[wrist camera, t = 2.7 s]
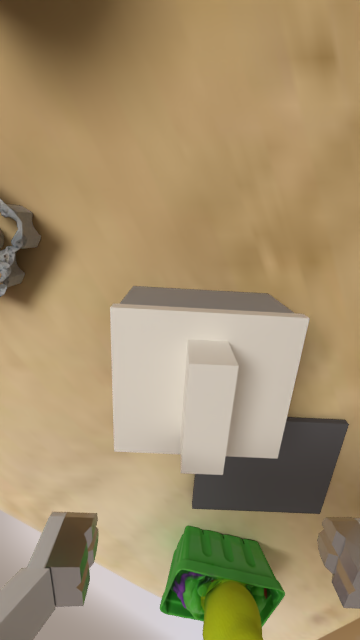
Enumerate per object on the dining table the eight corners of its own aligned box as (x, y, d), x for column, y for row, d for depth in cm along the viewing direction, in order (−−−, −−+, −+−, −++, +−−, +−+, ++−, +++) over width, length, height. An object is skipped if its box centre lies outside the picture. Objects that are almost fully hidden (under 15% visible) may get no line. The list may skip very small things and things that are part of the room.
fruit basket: (160, 557, 33) (151, 717, 22) (182, 507, 30) (184, 662, 19) (247, 575, 34) (278, 735, 23) (276, 528, 31) (326, 686, 20)
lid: (297, 310, 17) (338, 338, 13) (270, 441, 20) (295, 499, 16) (116, 300, 17) (94, 325, 12) (119, 434, 20) (102, 491, 16)
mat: (345, 419, 26) (348, 424, 25) (317, 508, 30) (319, 513, 29) (201, 413, 26) (201, 417, 25) (192, 503, 30) (192, 508, 29)
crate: (268, 293, 22) (299, 316, 16) (250, 397, 25) (271, 447, 19) (133, 286, 22) (116, 306, 16) (133, 392, 25) (119, 440, 19)
